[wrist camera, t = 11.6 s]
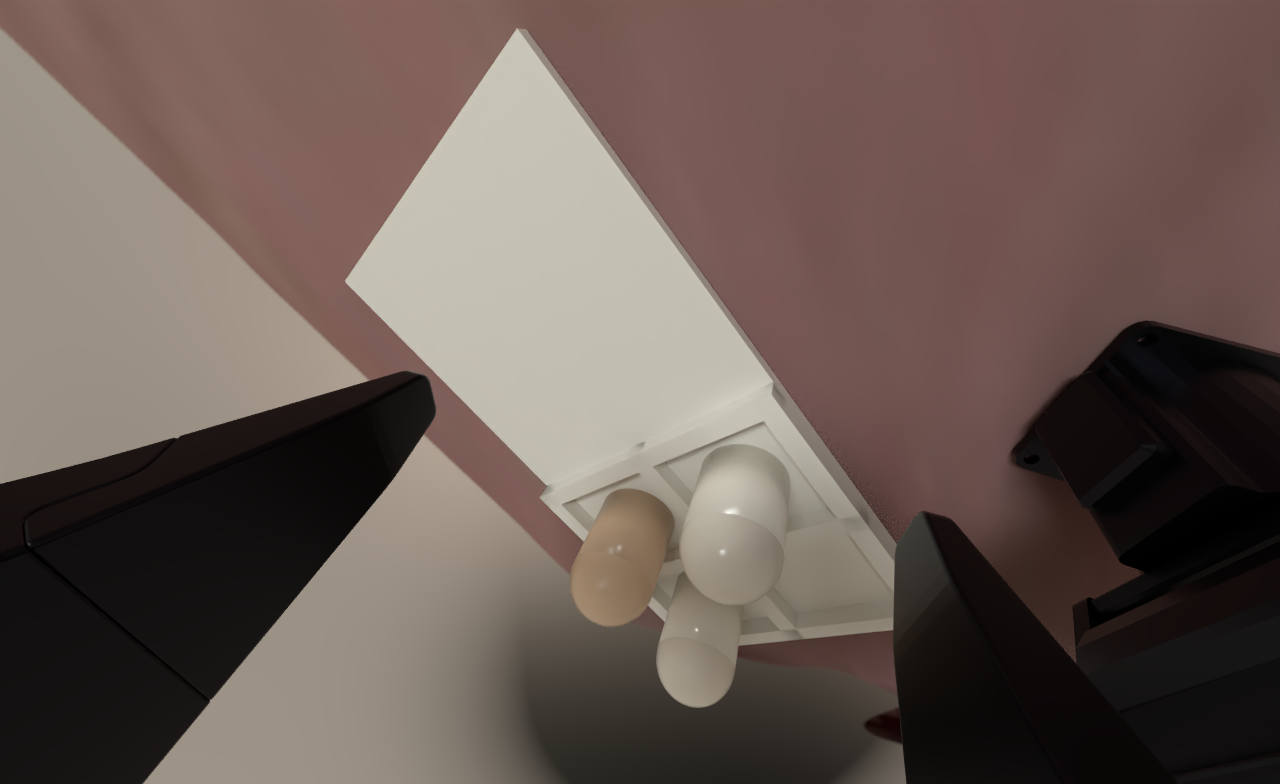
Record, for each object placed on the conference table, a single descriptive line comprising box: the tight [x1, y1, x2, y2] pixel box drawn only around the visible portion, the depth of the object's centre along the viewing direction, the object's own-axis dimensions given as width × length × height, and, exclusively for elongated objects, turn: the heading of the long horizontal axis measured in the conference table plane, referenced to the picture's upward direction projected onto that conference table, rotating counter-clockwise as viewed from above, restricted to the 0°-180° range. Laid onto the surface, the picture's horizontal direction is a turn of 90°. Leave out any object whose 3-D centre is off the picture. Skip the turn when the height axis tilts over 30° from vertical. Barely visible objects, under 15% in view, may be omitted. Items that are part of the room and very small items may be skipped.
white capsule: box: [656, 571, 744, 708], centre depth 27 cm, size 4×4×7 cm
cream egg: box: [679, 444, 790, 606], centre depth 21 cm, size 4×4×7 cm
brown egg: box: [570, 488, 675, 627], centre depth 25 cm, size 4×4×7 cm
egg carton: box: [345, 28, 897, 646], centre depth 24 cm, size 32×16×2 cm, turn 40°
